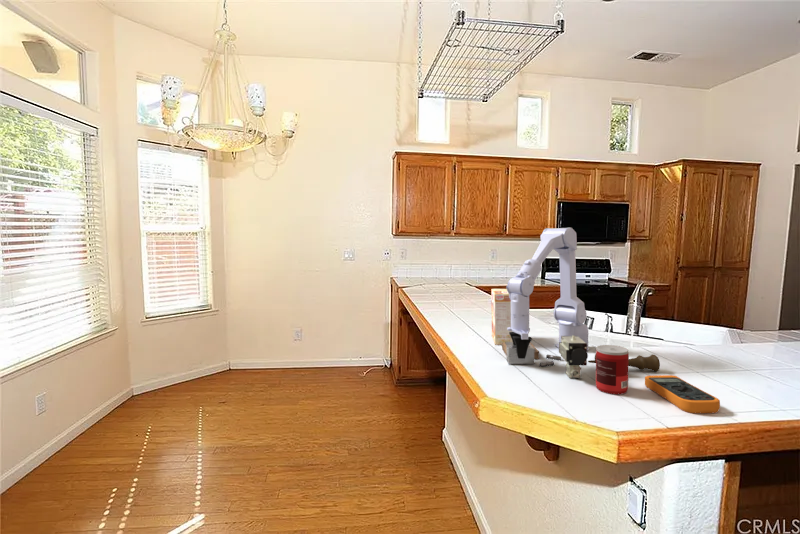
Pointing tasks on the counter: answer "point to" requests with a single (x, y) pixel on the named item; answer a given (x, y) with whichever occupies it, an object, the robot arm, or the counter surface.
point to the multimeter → (682, 394)
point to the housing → (513, 357)
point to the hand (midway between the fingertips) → (520, 356)
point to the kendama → (642, 362)
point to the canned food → (612, 369)
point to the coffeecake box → (500, 316)
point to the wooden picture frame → (536, 352)
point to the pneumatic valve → (573, 354)
